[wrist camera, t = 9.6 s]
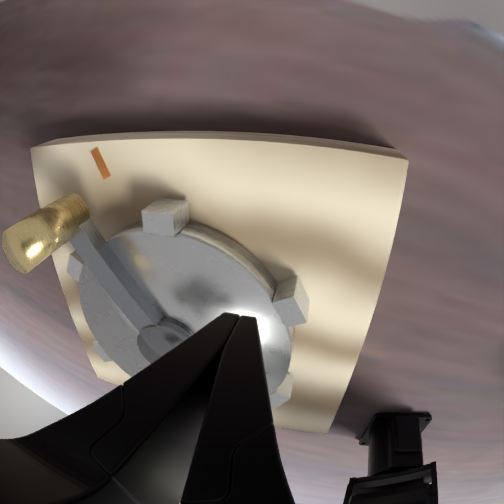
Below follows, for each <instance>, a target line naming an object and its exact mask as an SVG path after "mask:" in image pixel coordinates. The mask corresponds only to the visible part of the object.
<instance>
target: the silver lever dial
mask: <svg viewBox="0 0 504 504" xmlns="http://www.w3.org/2000/svg"><path fill="white" fill-rule="evenodd" d="M141 212H142V221H139V222H135V223H132V224H130V225H128V226H126V227H123V228H122V229H120V230H119V231H117V232H116V233H115V234H113V235H112V236H111V237H109V238H108V239H107V240H106V241H105V239H104V238H103V236H102V235H101V233H100V232H99V230H98V229H97V228H96V226H95V225H94V223H93V222H92V220H91V219H90V212H89V209H88V206H87V204H86V203H85V201H84V200H83V199H82V198H81V197H80V196H79V195H77V194H75V193H68V194H66V195H64V196H62V197H60V198H59V199H57V200H55V201H53V202H52V203H50V204H48V205H46V206H45V207H43V208H41V209H39V210H38V211H36V212H34V213H33V214H31V215H29V216H28V217H26V218H24V219H23V220H21V221H19V222H18V223H16V224H15V225H13V226H11V227H10V228H8V229H7V230H5V231H4V232H3V234H2V246H3V249H4V252H5V255H6V257H7V259H8V260H9V262H10V263H11V265H12V266H13V267H14V268H15V269H16V270H17V271H18V272H20V273H23V274H27V273H28V272H29V271H31V270H32V269H33V268H34V267H36V266H37V265H38V264H39V263H41V262H42V261H43V260H45V259H46V258H47V257H48V256H50V255H51V254H52V253H54V252H55V251H56V250H58V249H59V248H60V247H62V246H63V245H64V244H66V243H67V242H68V241H70V243H71V244H72V246H73V247H74V249H75V251H73V252H72V253H71V254H70V256H69V261H68V266H67V271H66V272H67V273H68V274H69V275H70V276H72V277H73V278H74V279H75V280H76V281H78V282H79V296H80V303H81V307H82V311H83V314H84V317H85V319H86V322H87V324H88V326H89V328H90V330H91V332H92V334H93V336H94V337H95V339H96V340H95V342H94V343H93V344H92V345H91V347H92V348H93V349H94V350H95V351H96V353H97V354H98V355H99V356H100V357H101V359H102V360H103V361H104V362H108V361H114V362H115V363H116V364H117V365H118V366H119V367H120V368H121V369H122V370H123V371H124V372H126V373H127V374H128V375H129V376H131V377H132V376H134V375H135V374H137V373H138V372H140V371H141V370H143V369H144V368H146V367H147V366H148V365H150V364H151V363H153V362H154V361H156V360H157V359H159V358H160V357H161V356H163V355H164V354H166V353H167V352H169V351H170V350H171V349H173V348H174V347H176V346H177V345H179V344H180V343H181V342H183V341H184V340H186V339H187V338H188V337H190V336H191V335H193V334H194V333H195V332H197V331H198V330H200V329H201V328H202V327H204V326H205V325H207V324H208V323H209V322H211V321H212V320H214V319H215V318H216V317H218V316H219V315H221V314H222V313H224V312H229V313H235V314H239V315H240V316H241V315H247V316H253V317H256V318H257V321H258V327H259V334H260V340H261V346H262V353H263V359H264V365H265V372H266V378H267V384H268V390H269V397H270V403H271V407H272V408H274V409H275V408H277V407H278V406H280V405H282V404H283V403H285V402H286V401H288V400H290V397H291V391H292V386H293V381H294V377H292V376H290V375H289V374H287V372H288V369H289V366H290V361H291V356H292V350H293V345H294V337H295V326H296V325H300V324H304V323H307V319H308V311H309V304H310V299H309V297H308V295H307V293H306V291H305V289H304V287H303V285H302V283H301V281H300V279H299V277H298V275H297V276H294V277H290V278H287V279H284V280H281V281H278V282H277V280H276V279H275V278H274V277H273V275H272V274H271V273H270V272H269V270H268V269H267V268H266V267H265V266H264V265H263V264H262V263H261V262H260V261H259V260H258V259H257V258H256V257H255V256H254V255H252V254H251V253H250V252H248V251H247V250H246V249H245V248H243V247H242V246H241V245H239V244H238V243H236V242H234V241H233V240H231V239H229V238H228V237H226V236H224V235H223V234H220V233H218V232H216V231H214V230H212V229H209V228H207V227H204V226H201V225H198V224H195V223H192V222H189V221H190V216H189V201H188V200H178V199H168V198H158V199H157V200H156V201H154V202H153V203H152V204H150V205H149V206H147V207H146V208H145V209H143V210H142V211H141Z"/></svg>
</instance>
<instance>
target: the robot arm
mask: <svg viewBox="0 0 504 504" xmlns="http://www.w3.org/2000/svg"><path fill="white" fill-rule="evenodd" d="M431 420H432V416H431V415H430V414H388V413H378V414H376V415H375V416H374V417H373V419H372V421H371V422H370V424H369V426H368V427H367V429H366V431H365V432H364V434H363V435H362V437H361V439H360V440H359V444H360V445H368V446H369V456H368V476H367V477H360V478H356V477H354V478H350V481H349V484H348V486H347V490H346V494H345V498H344V502H343V504H438V486H437V471H436V461H435V462H431V463H430V464H427V465H423V453H422V438H421V432H422V431H423V430H424V429H425V428H426V426H427V425H428V424H429V423H430V421H431ZM273 422H274V421H273V415H272V409H271V403H270V397H269V390H268V384H267V378H266V372H265V365H264V359H263V353H262V346H261V340H260V334H259V327H258V321H257V318H256V317H253V316H247V315H241V316H240V315H239V314H235V313H229V312H224V313H222V314H221V315H219V316H218V317H216V318H215V319H214V320H212V321H211V322H209V323H208V324H207V325H205V326H204V327H202V328H201V329H200V330H198V331H197V332H195V333H194V334H193V335H191V336H190V337H188V338H187V339H186V340H184V341H183V342H181V343H180V344H179V345H177V346H176V347H174V348H173V349H171V350H170V351H169V352H167V353H166V354H164V355H163V356H161V357H160V358H159V359H157V360H156V361H154V362H153V363H151V364H150V365H148V366H147V367H146V368H144V369H143V370H141V371H140V372H138V373H137V374H135V375H134V376H132V377H131V378H130V379H128V380H127V381H125V382H124V383H123V385H119V386H118V387H116V388H115V389H113V390H112V391H110V392H109V393H107V394H105V395H104V396H102V397H101V398H99V399H97V400H96V401H94V402H93V403H91V404H89V405H87V406H85V407H84V408H82V409H80V410H78V411H76V412H74V413H73V414H71V415H69V416H67V417H65V418H63V419H61V420H59V421H57V422H54V423H52V424H50V425H48V426H46V427H44V428H42V429H40V430H38V431H36V432H34V433H31V434H29V435H26V436H23V437H19V438H14V439H0V504H179V502H180V503H181V504H295V502H294V499H293V496H292V493H291V490H290V488H289V485H288V482H287V479H286V475H285V472H284V469H283V465H282V462H281V458H280V453H279V449H278V444H277V439H276V433H275V426H274V424H273ZM430 482H432V484H429V483H430ZM180 500H181V501H180Z"/></svg>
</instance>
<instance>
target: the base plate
mask: <svg viewBox="0 0 504 504" xmlns="http://www.w3.org/2000/svg"><path fill="white" fill-rule="evenodd" d="M30 150H31V158H32V165H33V171H34V178H35V183H36V189H37V194H38V199H39V204H40V209H41V208H43V207H45V206H46V205H48V204H50V203H52V202H53V201H55V200H57V199H59V198H60V197H62V196H64V195H66V194H68V193H75V194H77V195H79V196H80V197H81V198H82V199H83V200H84V201H85V203H86V204H87V206H88V209H89V212H90V219H91V220H92V222H93V223H94V225H95V226H96V228H97V229H98V230H99V232H100V233H101V235H102V236H103V238H104V239H105V241H106V240H107V239H108V238H109V237H111V236H112V235H113V234H115V233H116V232H117V231H119V230H120V229H122V228H123V227H126V226H128V225H130V224H132V223H135V222H139V221H142V212H141V211H142V210H143V209H145V208H146V207H147V206H149V205H150V204H152V203H153V202H154V201H156V200H157V199H158V198H168V199H178V200H188V201H189V216H190V221H189V222H192V223H195V224H198V225H201V226H204V227H207V228H209V229H212V230H214V231H216V232H218V233H220V234H223V235H224V236H226V237H228V238H229V239H231V240H233V241H234V242H236V243H238V244H239V245H241V246H242V247H243V248H245V249H246V250H247V251H248V252H250V253H251V254H252V255H254V256H255V257H256V258H257V259H258V260H259V261H260V262H261V263H262V264H263V265H264V266H265V267H266V268H267V269H268V270H269V272H270V273H271V274H272V275H273V277H274V278H275V279H276V280H277V282H278V281H281V280H284V279H287V278H290V277H294V276H297V275H298V277H299V279H300V281H301V283H302V285H303V287H304V289H305V291H306V293H307V295H308V297H309V299H310V304H309V311H308V319H307V323H304V324H300V325H296V326H295V337H294V345H293V350H292V356H291V361H290V366H289V369H288V372H287V374H289V375H290V376H292V377H294V381H293V386H292V391H291V397H290V400H288V401H286V402H285V403H283V404H282V405H280V406H278V407H277V408H275V409H274V408H272V407H271V409H272V415H273V421H274V422H273V424H274V426H275V427H278V428H285V429H291V430H298V431H306V432H314V433H322V434H327V433H328V431H329V429H330V426H331V424H332V422H333V420H334V417H335V415H336V413H337V410H338V408H339V406H340V403H341V401H342V398H343V396H344V393H345V391H346V389H347V386H348V383H349V381H350V378H351V376H352V373H353V370H354V368H355V365H356V362H357V360H358V357H359V354H360V351H361V349H362V346H363V343H364V340H365V337H366V334H367V331H368V328H369V325H370V322H371V319H372V316H373V312H374V309H375V306H376V303H377V299H378V296H379V292H380V289H381V285H382V282H383V278H384V275H385V271H386V267H387V263H388V259H389V255H390V251H391V247H392V243H393V239H394V235H395V230H396V226H397V221H398V217H399V212H400V207H401V202H402V197H403V191H404V186H405V180H406V174H407V168H408V162H409V160H408V159H407V158H406V157H405V156H403V155H402V154H401V153H400V152H399V151H398V150H397V149H392V148H386V147H380V146H374V145H368V144H361V143H354V142H347V141H340V140H332V139H323V138H314V137H305V136H294V135H282V134H268V133H252V132H229V131H149V132H127V133H111V134H98V135H87V136H76V137H67V138H59V139H55V140H52V141H49V142H46V143H43V144H40V145H37V146H34V147H32V148H30ZM73 251H75V249H74V247H73V246H72V244H71V243H70V241H68V242H67V243H66V244H64V245H63V246H62V247H60V248H59V249H58V250H56V251H55V252H54V253H52V257H53V261H54V264H55V267H56V271H57V274H58V277H59V280H60V283H61V287H62V290H63V293H64V295H65V298H66V301H67V304H68V307H69V310H70V312H71V315H72V318H73V320H74V323H75V326H76V328H77V331H78V333H79V336H80V338H81V340H82V343H83V345H84V348H85V350H86V352H87V355H88V357H89V359H90V361H91V364H92V366H93V368H94V370H95V372H96V374H97V376H98V378H101V379H103V380H106V381H108V382H111V383H113V384H116V385H123V383H124V382H125V381H127V380H128V379H130V378H131V376H129V375H128V374H127V373H126V372H124V371H123V370H122V369H121V368H120V367H119V366H118V365H117V364H116V363H115V362H114V361H108V362H104V361H103V360H102V359H101V357H100V356H99V355H98V354H97V353H96V351H95V350H94V349H93V348H92V347H91V345H92V344H93V343H94V342H95V340H96V339H95V337H94V336H93V334H92V332H91V330H90V328H89V326H88V324H87V322H86V319H85V317H84V314H83V311H82V307H81V303H80V296H79V282H78V281H76V280H75V279H74V278H73V277H72V276H70V275H69V274H68V273H67V272H66V271H67V266H68V261H69V256H70V254H71V253H72V252H73Z"/></svg>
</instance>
